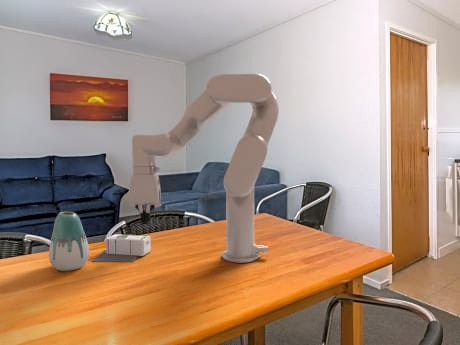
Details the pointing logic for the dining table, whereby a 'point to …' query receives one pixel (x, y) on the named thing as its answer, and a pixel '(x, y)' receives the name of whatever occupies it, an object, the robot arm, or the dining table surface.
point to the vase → (68, 243)
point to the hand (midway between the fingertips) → (145, 223)
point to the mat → (114, 257)
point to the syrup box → (128, 244)
